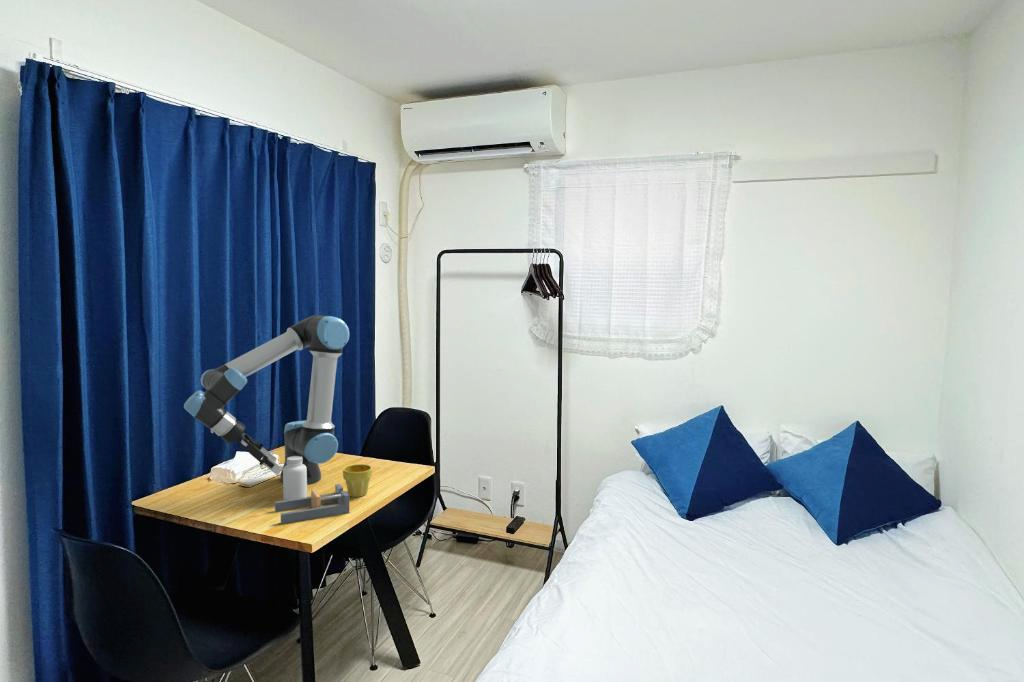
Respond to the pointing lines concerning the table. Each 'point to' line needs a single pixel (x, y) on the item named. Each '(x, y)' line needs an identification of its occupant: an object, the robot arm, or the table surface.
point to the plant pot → (357, 479)
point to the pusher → (319, 498)
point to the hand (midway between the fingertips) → (277, 466)
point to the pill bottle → (294, 478)
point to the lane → (313, 513)
